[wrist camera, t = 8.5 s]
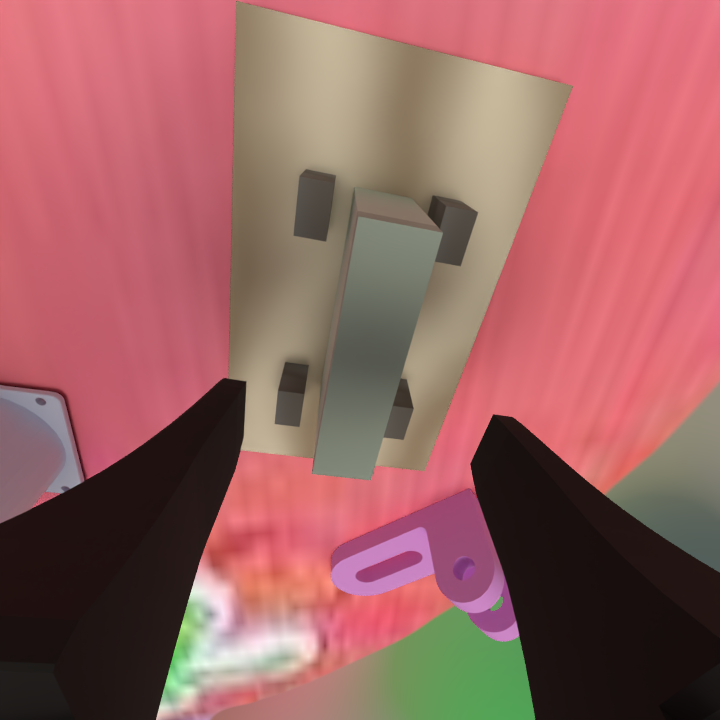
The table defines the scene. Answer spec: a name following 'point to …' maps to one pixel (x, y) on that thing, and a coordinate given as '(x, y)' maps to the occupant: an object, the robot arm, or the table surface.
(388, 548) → the bracket
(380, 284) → the door
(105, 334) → the table surface
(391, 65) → the beige board with pegs
